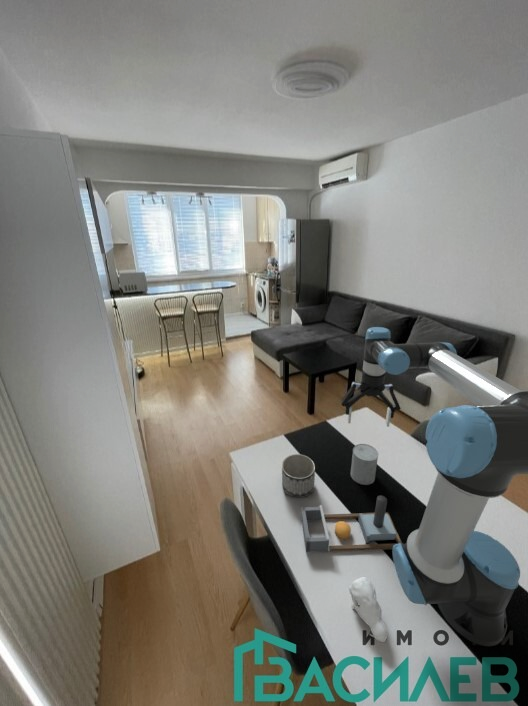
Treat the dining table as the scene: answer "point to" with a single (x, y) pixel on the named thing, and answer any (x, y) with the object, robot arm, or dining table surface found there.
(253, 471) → the dining table surface
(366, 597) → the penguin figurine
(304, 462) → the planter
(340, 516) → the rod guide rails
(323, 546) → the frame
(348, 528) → the orange rounded piece
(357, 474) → the grey cylinder
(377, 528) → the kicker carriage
